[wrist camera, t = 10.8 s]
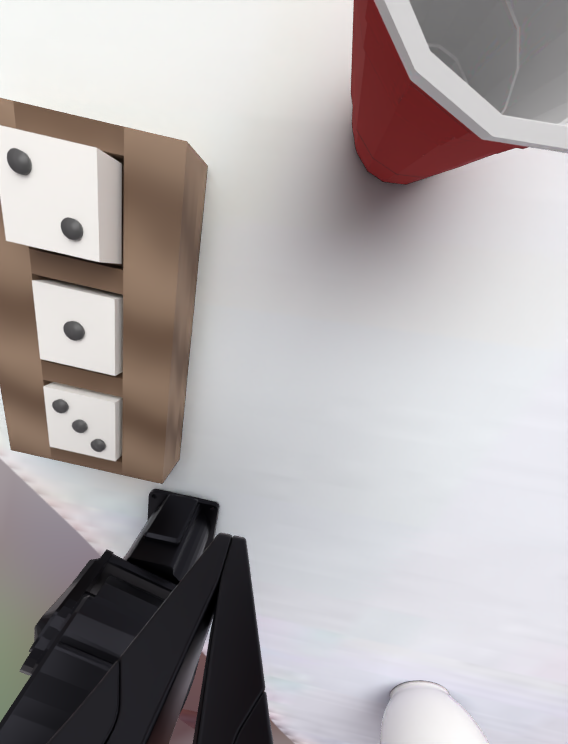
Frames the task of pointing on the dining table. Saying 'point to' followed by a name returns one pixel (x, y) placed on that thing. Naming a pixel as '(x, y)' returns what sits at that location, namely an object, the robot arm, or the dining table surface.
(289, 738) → the dining table surface
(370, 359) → the dining table surface
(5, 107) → the key panel
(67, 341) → the one dot key
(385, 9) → the plastic cup
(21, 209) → the two dot key
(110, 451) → the three dot key
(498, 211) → the dining table surface
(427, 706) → the lidded bowl
